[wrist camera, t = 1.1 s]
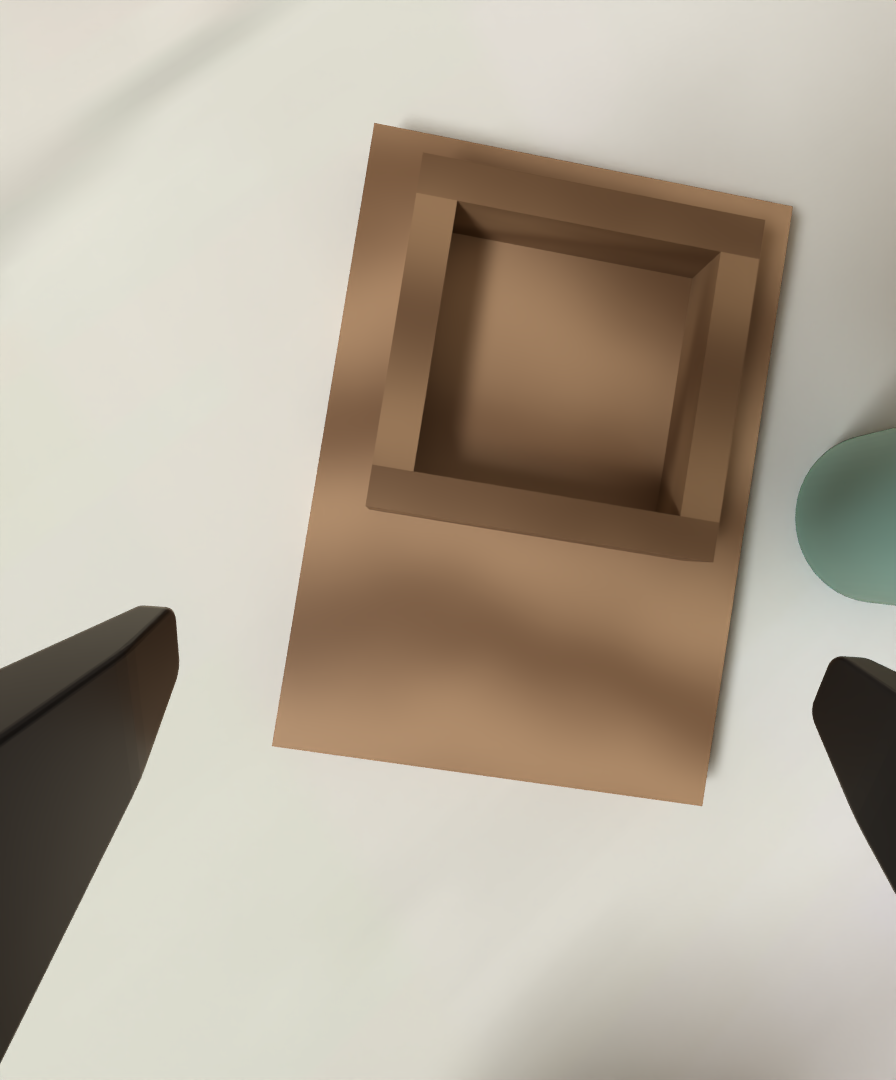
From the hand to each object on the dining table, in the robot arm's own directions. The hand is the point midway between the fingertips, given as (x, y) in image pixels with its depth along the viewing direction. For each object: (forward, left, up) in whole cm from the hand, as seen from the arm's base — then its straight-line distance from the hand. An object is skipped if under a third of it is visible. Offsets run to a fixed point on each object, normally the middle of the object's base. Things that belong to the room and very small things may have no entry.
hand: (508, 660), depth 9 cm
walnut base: (+2, -5, -14) cm, 15 cm away
